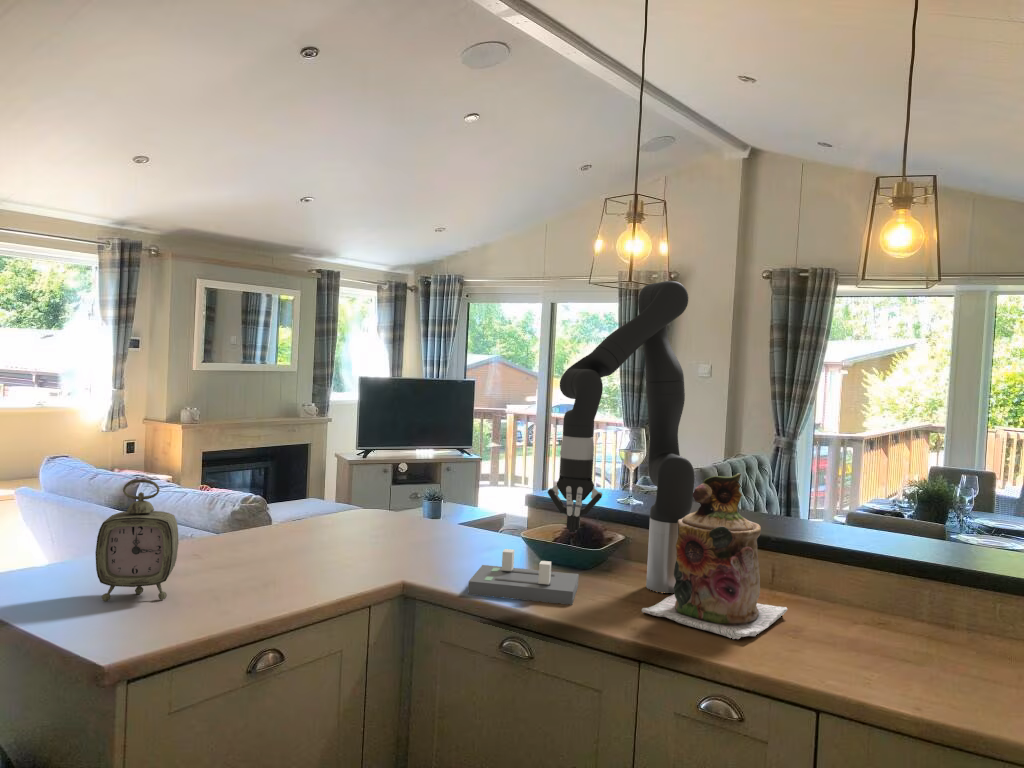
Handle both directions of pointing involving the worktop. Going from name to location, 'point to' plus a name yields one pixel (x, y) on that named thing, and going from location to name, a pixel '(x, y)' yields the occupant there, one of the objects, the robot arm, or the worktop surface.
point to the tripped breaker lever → (544, 572)
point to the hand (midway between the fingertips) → (572, 531)
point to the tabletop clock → (137, 546)
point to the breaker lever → (508, 560)
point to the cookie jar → (718, 567)
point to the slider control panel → (523, 585)
